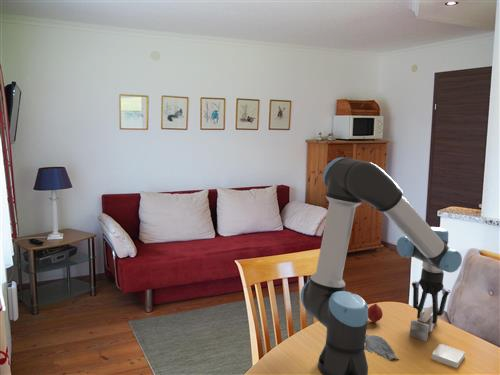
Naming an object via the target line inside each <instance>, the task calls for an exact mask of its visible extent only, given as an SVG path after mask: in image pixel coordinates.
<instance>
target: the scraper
mask: <svg viewBox="0 0 500 375" xmlns="http://www.w3.org/2000/svg"><path fill="white" fill-rule="evenodd" d="M439 308H440V307H438V311H439ZM432 313H433V305H431V306H430V307H428V309H426V310H425V312H424V314H423V315H422V316H421V317H420V318H419V319H418V318H417V320H415V319H411V321H410V327H409V337H412V338H415V339H418V340H421V341H424V342H428V336H429V333H430V332H429V324H430V316H431V314H432ZM438 317H439V316H437V320H438ZM437 323H438V321H437V322H436V323H435V324H433V328H434V327H435V326H436V325H437Z"/></svg>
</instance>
